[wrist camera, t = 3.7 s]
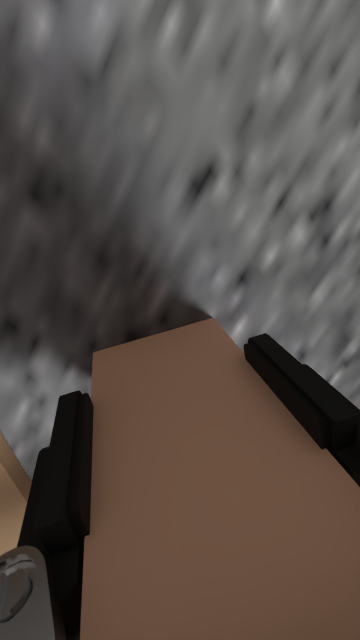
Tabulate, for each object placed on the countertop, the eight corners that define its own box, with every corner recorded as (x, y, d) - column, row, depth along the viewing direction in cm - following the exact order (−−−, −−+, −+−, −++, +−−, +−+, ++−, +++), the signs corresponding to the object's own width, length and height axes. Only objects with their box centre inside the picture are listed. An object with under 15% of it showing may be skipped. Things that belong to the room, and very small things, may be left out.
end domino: (92, 352, 12) (71, 822, 3) (212, 317, 13) (480, 625, 4) (105, 384, 13) (116, 848, 4) (218, 350, 13) (455, 676, 4)
